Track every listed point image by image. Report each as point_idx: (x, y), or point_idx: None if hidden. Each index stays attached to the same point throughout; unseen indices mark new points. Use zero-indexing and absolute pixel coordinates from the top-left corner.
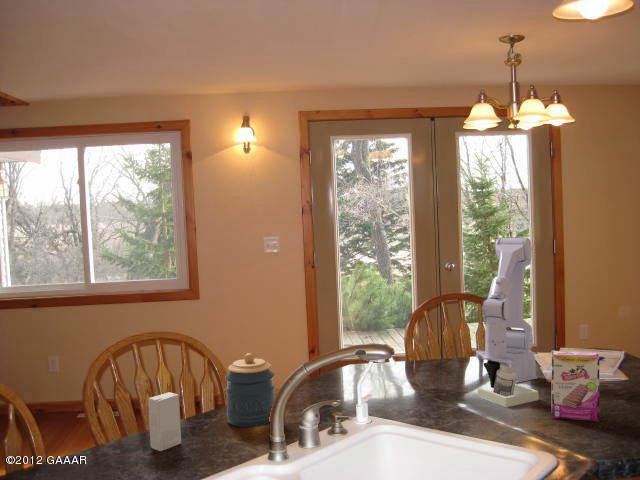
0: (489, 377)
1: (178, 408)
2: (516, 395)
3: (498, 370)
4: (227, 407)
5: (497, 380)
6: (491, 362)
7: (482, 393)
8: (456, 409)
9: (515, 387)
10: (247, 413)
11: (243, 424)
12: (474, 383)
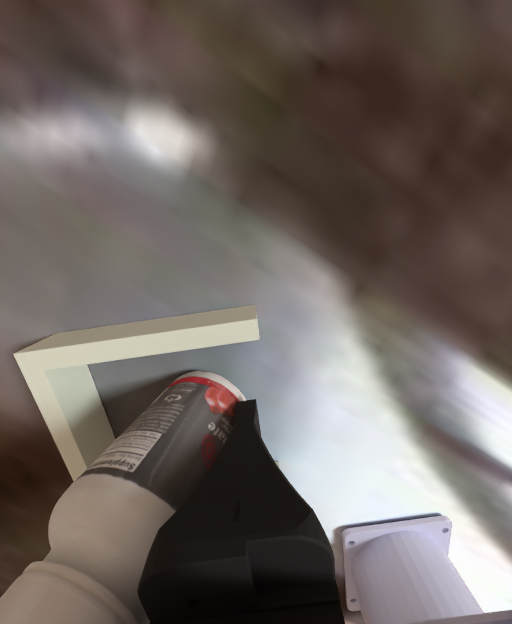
0: (255, 437)
1: None
2: (54, 428)
3: (134, 540)
4: None
5: (144, 440)
6: (266, 617)
7: (217, 318)
8: (87, 41)
9: None
10: None
11: None
12: (444, 403)
